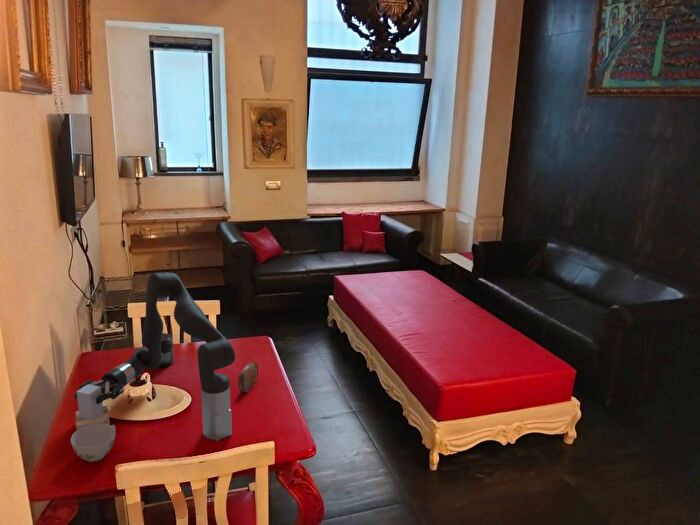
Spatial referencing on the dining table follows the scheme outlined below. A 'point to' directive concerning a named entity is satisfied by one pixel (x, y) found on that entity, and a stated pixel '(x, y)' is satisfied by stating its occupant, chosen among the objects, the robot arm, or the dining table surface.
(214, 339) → the robot arm
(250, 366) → the tin
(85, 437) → the teacup
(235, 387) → the dining table surface
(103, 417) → the birch block
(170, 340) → the supplement container
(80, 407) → the pale blue tall cuboid
